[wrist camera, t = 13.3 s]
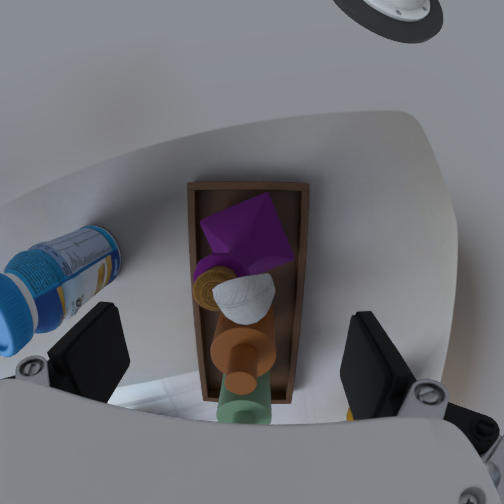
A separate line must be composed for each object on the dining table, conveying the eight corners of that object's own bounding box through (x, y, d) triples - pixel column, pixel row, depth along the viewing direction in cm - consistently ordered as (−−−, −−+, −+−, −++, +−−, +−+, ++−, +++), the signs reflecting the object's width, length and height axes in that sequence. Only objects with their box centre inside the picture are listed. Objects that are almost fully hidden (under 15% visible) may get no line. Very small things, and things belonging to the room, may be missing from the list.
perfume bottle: (231, 275, 33) (204, 376, 16) (204, 215, 31) (141, 267, 14) (292, 251, 32) (324, 338, 15) (267, 189, 31) (276, 210, 13)
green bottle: (224, 346, 36) (209, 426, 22) (270, 347, 36) (274, 429, 22) (226, 380, 38) (214, 458, 24) (268, 381, 37) (270, 460, 24)
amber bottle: (222, 283, 34) (199, 352, 20) (273, 284, 33) (281, 355, 20) (223, 327, 35) (206, 406, 22) (271, 328, 35) (276, 408, 22)
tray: (192, 181, 31) (187, 182, 29) (305, 182, 31) (309, 183, 28) (205, 389, 39) (202, 400, 36) (289, 392, 39) (291, 403, 36)
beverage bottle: (112, 215, 32) (-10, 264, 13) (132, 279, 34) (37, 370, 15) (66, 232, 33) (-45, 281, 14) (85, 289, 35) (-9, 365, 16)
